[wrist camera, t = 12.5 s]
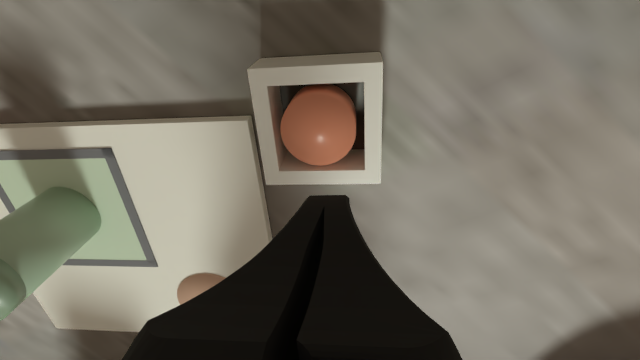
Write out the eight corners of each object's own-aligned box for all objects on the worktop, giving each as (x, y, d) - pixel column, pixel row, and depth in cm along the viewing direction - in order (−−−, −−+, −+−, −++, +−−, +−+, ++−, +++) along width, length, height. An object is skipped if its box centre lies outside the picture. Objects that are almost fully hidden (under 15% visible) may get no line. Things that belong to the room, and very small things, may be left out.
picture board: (288, 329, 28) (286, 339, 27) (63, 320, 31) (55, 329, 30) (251, 115, 19) (246, 121, 19) (-61, 125, 22) (-76, 131, 21)
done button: (357, 148, 19) (356, 164, 17) (291, 149, 19) (284, 166, 18) (355, 81, 17) (355, 92, 15) (284, 84, 18) (275, 95, 16)
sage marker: (111, 235, 24) (25, 320, 17) (59, 239, 24) (-41, 323, 18) (83, 183, 22) (-24, 258, 16) (28, 190, 22) (-95, 264, 16)
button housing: (378, 161, 20) (380, 183, 18) (275, 163, 21) (266, 185, 19) (380, 51, 17) (382, 62, 15) (260, 58, 18) (246, 69, 16)
